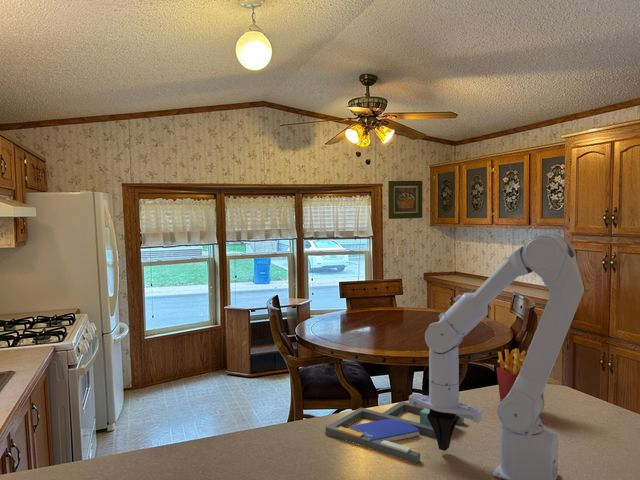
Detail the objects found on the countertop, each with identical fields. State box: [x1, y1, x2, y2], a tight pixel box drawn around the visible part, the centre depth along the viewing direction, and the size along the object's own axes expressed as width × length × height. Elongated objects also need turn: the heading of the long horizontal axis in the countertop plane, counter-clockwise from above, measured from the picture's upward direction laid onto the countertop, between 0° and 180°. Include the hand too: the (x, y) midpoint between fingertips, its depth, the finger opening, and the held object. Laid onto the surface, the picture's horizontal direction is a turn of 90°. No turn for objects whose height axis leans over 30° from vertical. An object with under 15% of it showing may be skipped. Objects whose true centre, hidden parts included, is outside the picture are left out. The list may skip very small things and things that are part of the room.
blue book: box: [350, 416, 420, 442], centre depth 105 cm, size 2×8×12 cm
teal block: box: [419, 408, 432, 427], centre depth 108 cm, size 6×5×4 cm
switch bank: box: [382, 400, 465, 426], centre depth 111 cm, size 16×10×2 cm, turn 52°
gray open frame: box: [325, 407, 436, 464], centre depth 104 cm, size 22×14×2 cm, turn 52°
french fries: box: [496, 347, 528, 403], centre depth 119 cm, size 9×8×15 cm
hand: (444, 448), depth 96 cm, fingers closed
